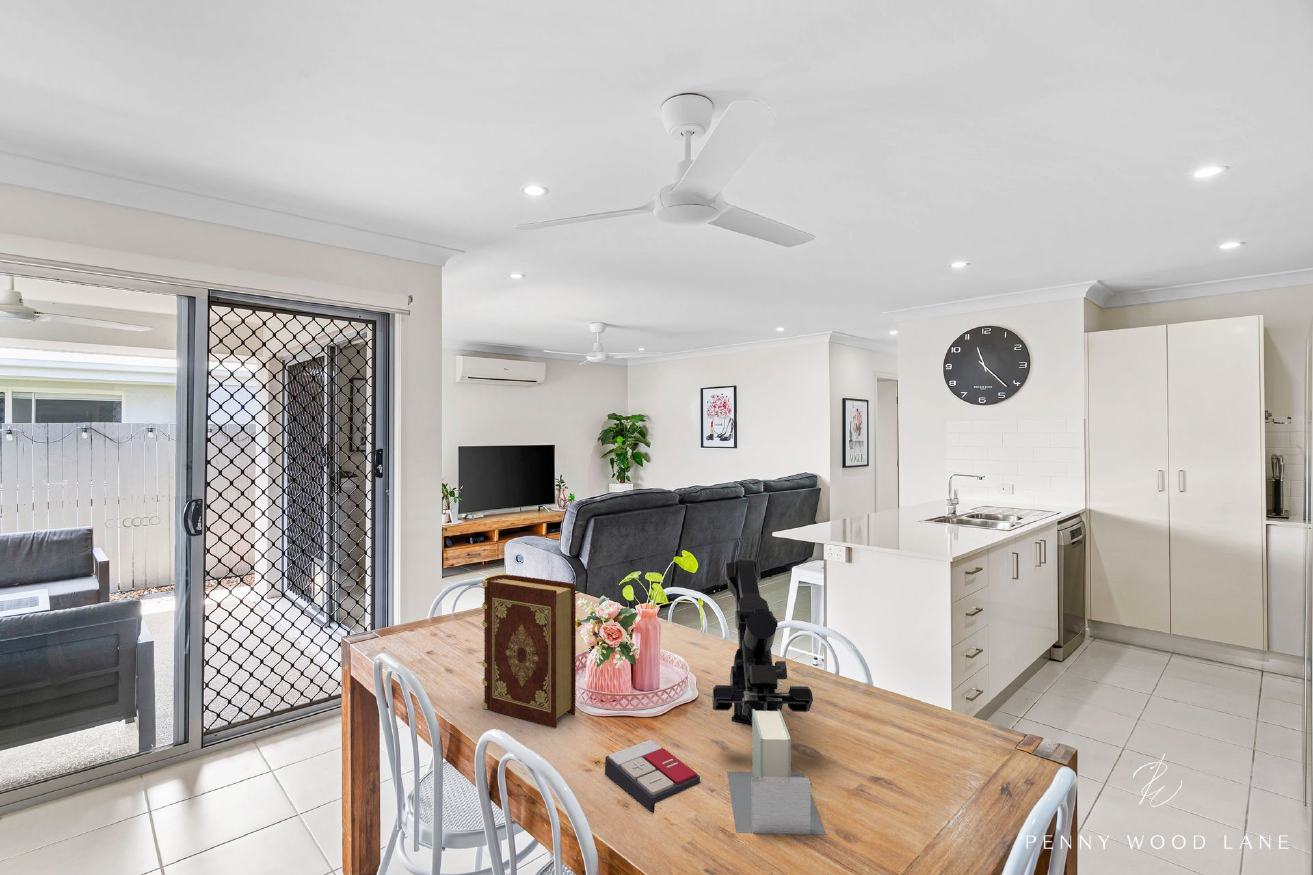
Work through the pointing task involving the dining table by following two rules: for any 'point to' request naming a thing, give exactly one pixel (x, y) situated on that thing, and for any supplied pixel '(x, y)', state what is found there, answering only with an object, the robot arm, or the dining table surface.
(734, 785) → the shelf board
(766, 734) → the book
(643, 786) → the calculator
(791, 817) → the bookend
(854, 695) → the dining table surface
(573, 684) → the decorative book
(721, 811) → the dining table surface
